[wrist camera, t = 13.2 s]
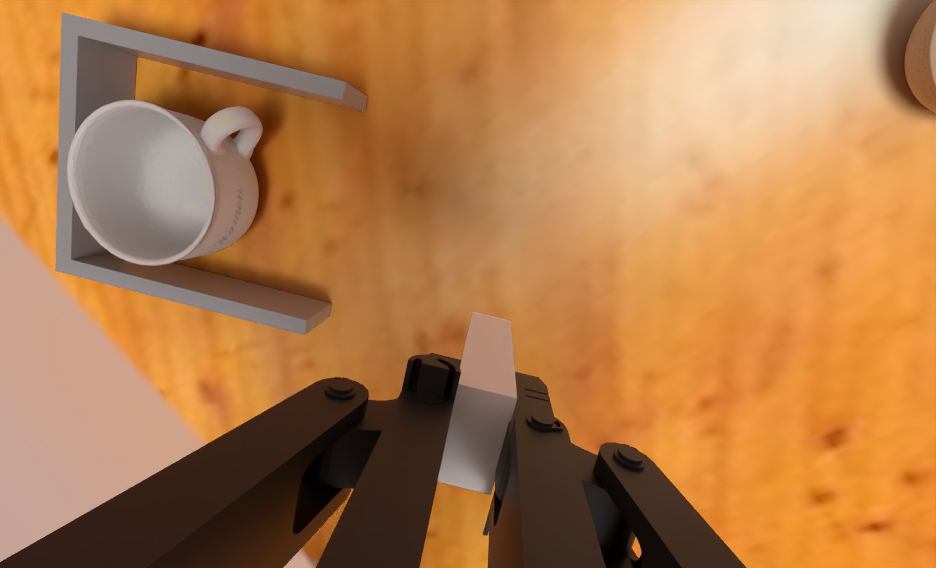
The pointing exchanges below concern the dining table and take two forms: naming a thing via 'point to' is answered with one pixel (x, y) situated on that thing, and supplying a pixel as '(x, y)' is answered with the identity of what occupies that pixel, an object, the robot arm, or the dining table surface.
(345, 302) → the dining table surface
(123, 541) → the robot arm
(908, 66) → the vase
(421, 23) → the dining table surface
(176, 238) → the teacup
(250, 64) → the box
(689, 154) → the dining table surface
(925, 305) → the dining table surface
